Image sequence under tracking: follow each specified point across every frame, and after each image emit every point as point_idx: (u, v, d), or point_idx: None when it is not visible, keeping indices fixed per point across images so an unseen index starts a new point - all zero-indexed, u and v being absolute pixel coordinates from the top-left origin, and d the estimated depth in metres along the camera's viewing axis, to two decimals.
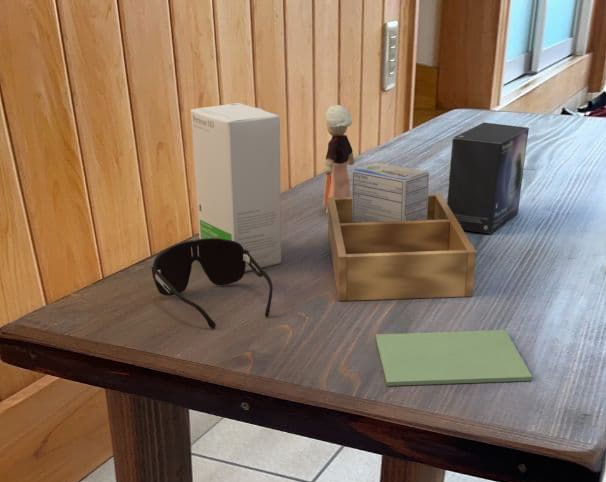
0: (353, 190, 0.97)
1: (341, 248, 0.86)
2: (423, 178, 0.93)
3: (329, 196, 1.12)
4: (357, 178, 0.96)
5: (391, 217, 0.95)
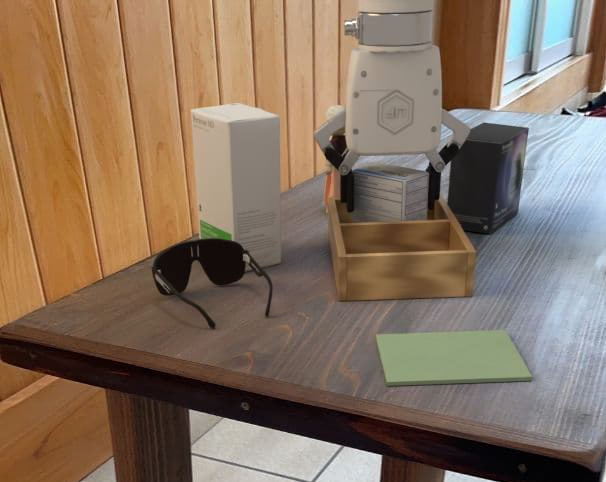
0: None
1: (341, 248, 0.86)
2: (423, 178, 0.93)
3: (329, 196, 1.12)
4: (357, 178, 0.96)
5: (391, 217, 0.95)
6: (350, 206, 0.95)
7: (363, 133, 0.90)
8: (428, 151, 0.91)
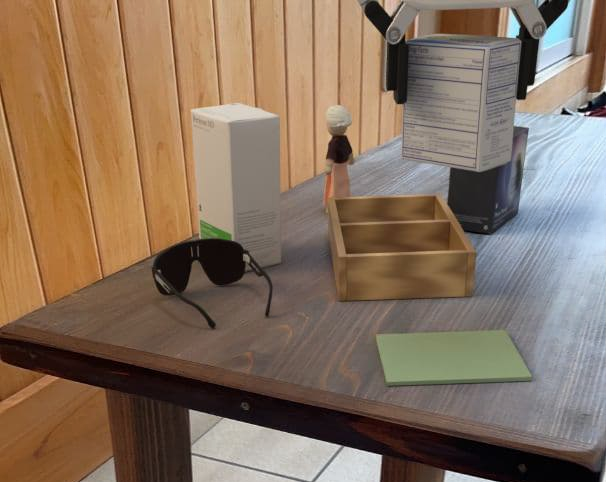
0: None
1: (341, 248, 0.86)
2: (514, 48, 0.62)
3: (329, 196, 1.12)
4: (412, 53, 0.64)
5: (463, 109, 0.63)
6: (402, 94, 0.64)
7: None
8: (524, 2, 0.60)
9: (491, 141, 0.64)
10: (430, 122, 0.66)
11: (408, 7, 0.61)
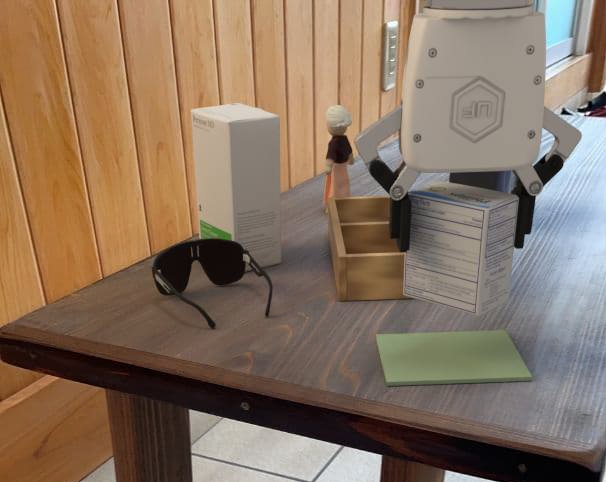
0: None
1: (341, 248, 0.86)
2: (512, 205, 0.65)
3: (329, 196, 1.12)
4: (414, 204, 0.67)
5: (463, 260, 0.66)
6: (404, 244, 0.67)
7: (428, 140, 0.61)
8: (522, 166, 0.63)
9: (490, 289, 0.67)
10: (432, 267, 0.69)
11: (411, 168, 0.64)
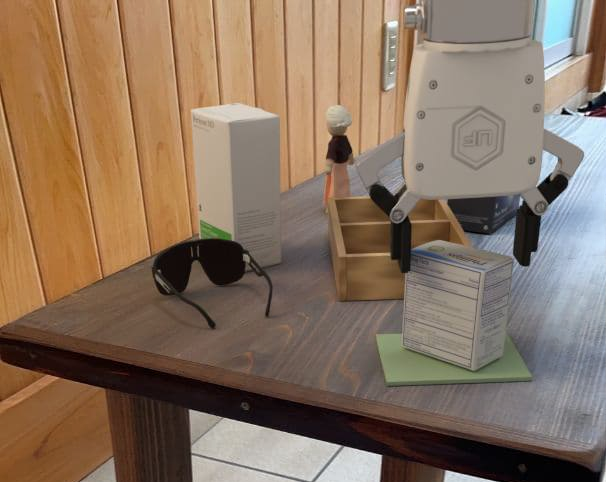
0: (407, 277, 0.71)
1: (341, 248, 0.86)
2: (507, 266, 0.68)
3: (329, 196, 1.12)
4: (413, 262, 0.70)
5: (460, 317, 0.69)
6: (405, 265, 0.68)
7: (431, 168, 0.63)
8: (523, 191, 0.64)
9: (485, 345, 0.70)
10: (430, 322, 0.72)
11: None
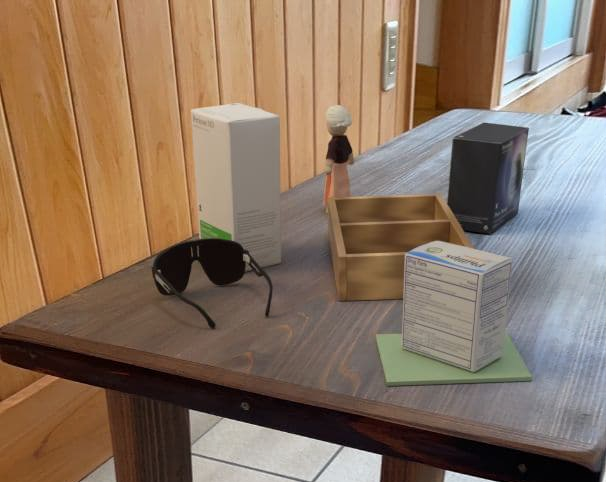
0: (405, 279, 0.71)
1: (341, 248, 0.86)
2: (505, 267, 0.68)
3: (329, 196, 1.12)
4: (412, 264, 0.70)
5: (459, 319, 0.69)
6: None
7: None
8: None
9: (484, 346, 0.70)
10: (429, 323, 0.72)
11: None
